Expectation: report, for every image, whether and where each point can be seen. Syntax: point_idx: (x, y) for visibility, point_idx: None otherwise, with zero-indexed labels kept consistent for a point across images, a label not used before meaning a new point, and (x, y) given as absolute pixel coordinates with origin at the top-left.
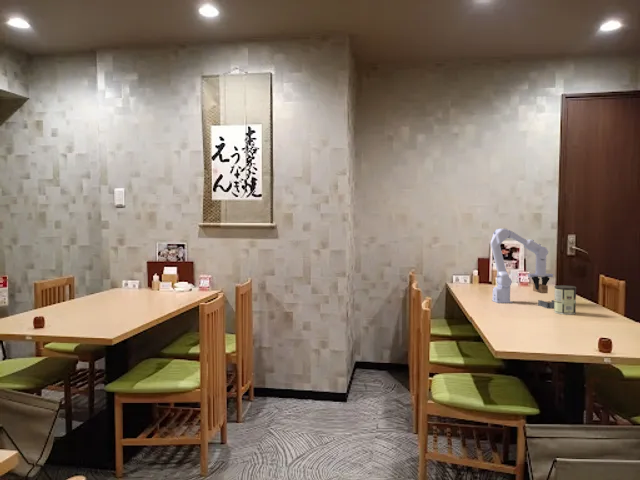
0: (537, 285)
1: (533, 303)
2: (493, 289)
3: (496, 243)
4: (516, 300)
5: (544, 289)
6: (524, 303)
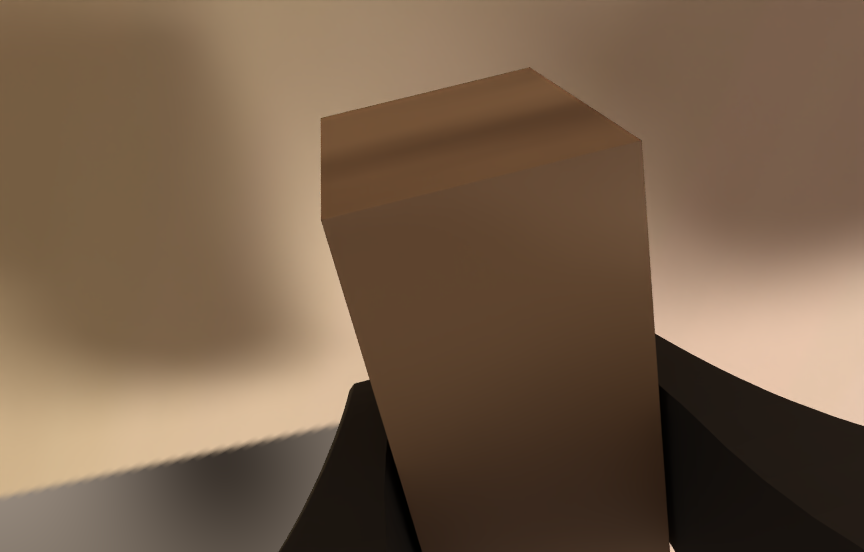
0: (706, 370)
1: (621, 65)
2: None
3: None
4: (792, 359)
5: (463, 122)
6: (819, 27)
